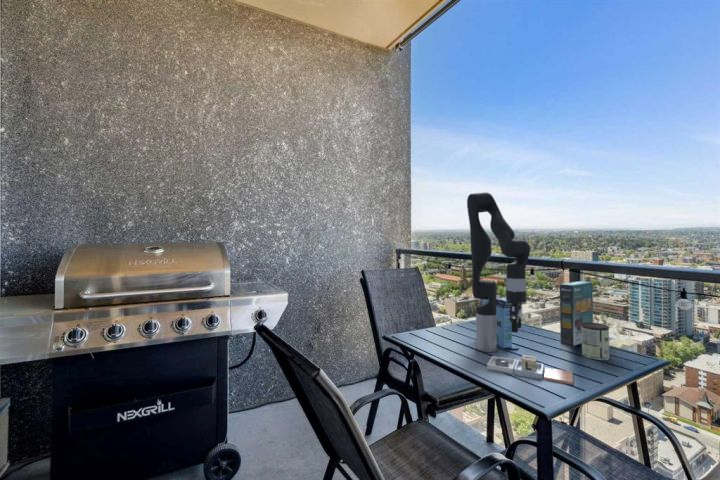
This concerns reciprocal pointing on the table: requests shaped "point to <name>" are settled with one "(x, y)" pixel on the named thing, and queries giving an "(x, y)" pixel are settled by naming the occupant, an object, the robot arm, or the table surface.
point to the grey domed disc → (502, 363)
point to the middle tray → (536, 375)
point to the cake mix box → (575, 310)
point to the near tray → (493, 367)
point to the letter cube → (529, 363)
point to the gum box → (502, 322)
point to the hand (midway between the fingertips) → (516, 329)
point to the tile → (558, 376)
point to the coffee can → (595, 341)
